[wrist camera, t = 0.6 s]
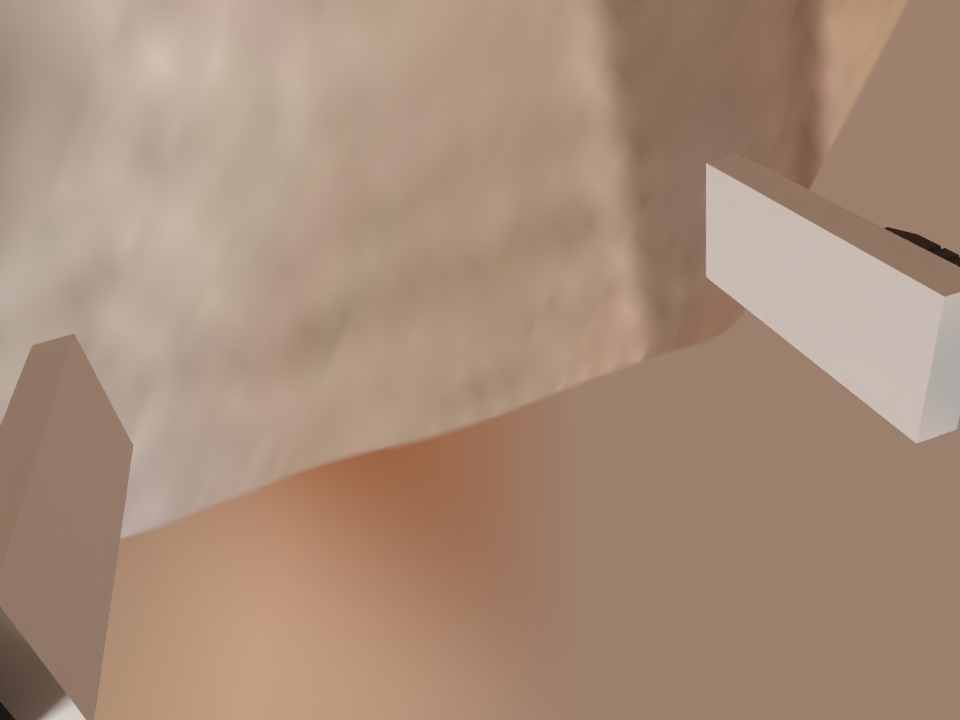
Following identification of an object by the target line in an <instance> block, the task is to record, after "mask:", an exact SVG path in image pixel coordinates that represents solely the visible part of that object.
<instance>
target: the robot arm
mask: <svg viewBox="0 0 960 720" xmlns="http://www.w3.org/2000/svg"><path fill="white" fill-rule="evenodd" d="M706 277H707V278H708V279H710V280H711V281H712V282H713V283H715V284H716V285H717V286H718V287H720V288H721V289H722V290H723V291H725V292H726V293H727V294H729V295H730V296H731V297H732V298H734V299H735V300H736V301H737V302H739V303H740V304H741V305H742V306H744V307H745V308H746V309H747V310H749V311H750V312H751V313H753V314H754V315H755V316H756V317H758V318H759V319H760V320H761V321H763V322H764V323H765V324H767V325H768V326H769V327H770V328H771V329H773V330H774V331H775V332H777V333H778V334H779V335H780V336H782V337H783V338H784V339H785V340H787V341H788V342H789V343H790V344H792V345H793V346H794V347H795V348H797V349H798V350H799V351H801V352H802V353H803V354H804V355H806V356H807V357H808V358H809V359H811V360H812V361H813V362H814V363H816V364H817V365H818V366H820V367H821V368H822V369H823V370H824V371H826V372H827V373H828V374H830V375H831V376H832V377H833V378H835V379H836V380H837V381H838V382H840V383H841V384H842V385H843V386H845V387H846V388H847V389H849V390H850V391H851V392H852V393H854V394H855V395H856V396H857V397H859V398H860V399H861V400H862V401H864V402H865V403H866V404H867V405H869V406H870V407H871V408H872V409H874V410H875V411H876V412H878V413H879V414H880V415H881V416H883V417H884V418H885V419H886V420H888V421H889V422H890V423H891V424H893V425H894V426H895V427H897V428H898V429H899V430H900V431H901V432H903V433H904V434H905V435H907V436H908V437H909V438H910V439H912V440H913V441H914V442H915V443H919V442H922V441H924V440H927V439H930V438H933V437H936V436H939V435H942V434H945V433H948V432H950V431H953V430H956V429H957V425H958V421H959V417H960V257H959V255H958V254H956V253H954V252H952V251H950V250H948V249H946V248H944V249H941V247H940V245H938V244H936V243H934V242H932V241H930V240H928V239H926V238H924V237H921V236H920V235H917V234H913V233H909V232H905V231H901V230H897V229H893V228H889V227H887V228H882V227H880V226H878V225H876V224H874V223H872V222H870V221H868V220H866V219H864V218H863V217H861V216H859V215H856V214H855V213H853V212H851V211H849V210H847V209H845V208H843V207H841V206H839V205H837V204H835V203H833V202H831V201H829V200H827V199H825V198H823V197H821V196H819V195H817V194H815V193H813V192H812V191H810V190H808V189H806V188H804V187H802V186H800V185H798V184H796V183H794V182H792V181H790V180H788V179H786V178H784V177H782V176H780V175H778V174H776V173H774V172H772V171H770V170H768V169H766V168H765V167H763V166H761V165H759V164H757V163H755V162H753V161H751V160H749V159H747V158H745V157H743V156H741V155H739V154H737V155H734V156H730V157H726V158H722V159H719V160H715V161H711V162H708V163H706ZM132 450H133V444H132V443H131V441H130V439H129V437H128V435H127V433H126V431H125V429H124V427H123V425H122V424H121V422H120V420H119V418H118V416H117V414H116V412H115V410H114V408H113V406H112V404H111V403H110V401H109V399H108V397H107V395H106V393H105V391H104V389H103V387H102V385H101V384H100V382H99V380H98V378H97V376H96V374H95V372H94V370H93V368H92V366H91V364H90V363H89V361H88V359H87V357H86V355H85V353H84V351H83V349H82V347H81V345H80V343H79V342H78V340H77V338H76V336H75V334H72V335H68V336H65V337H61V338H57V339H54V340H50V341H46V342H42V343H39V344H35V345H32V347H31V350H30V352H29V355H28V357H27V360H26V362H25V365H24V368H23V370H22V373H21V375H20V378H19V380H18V383H17V385H16V388H15V390H14V393H13V396H12V398H11V401H10V403H9V406H8V408H7V411H6V413H5V416H4V418H3V421H2V424H1V426H0V720H94V716H95V709H96V702H97V695H98V688H99V681H100V674H101V667H102V660H103V653H104V646H105V639H106V632H107V625H108V618H109V611H110V604H111V597H112V590H113V582H114V575H115V569H116V562H117V555H118V548H119V541H120V534H121V527H122V520H123V513H124V506H125V499H126V492H127V485H128V478H129V471H130V464H131V457H132Z"/></svg>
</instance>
